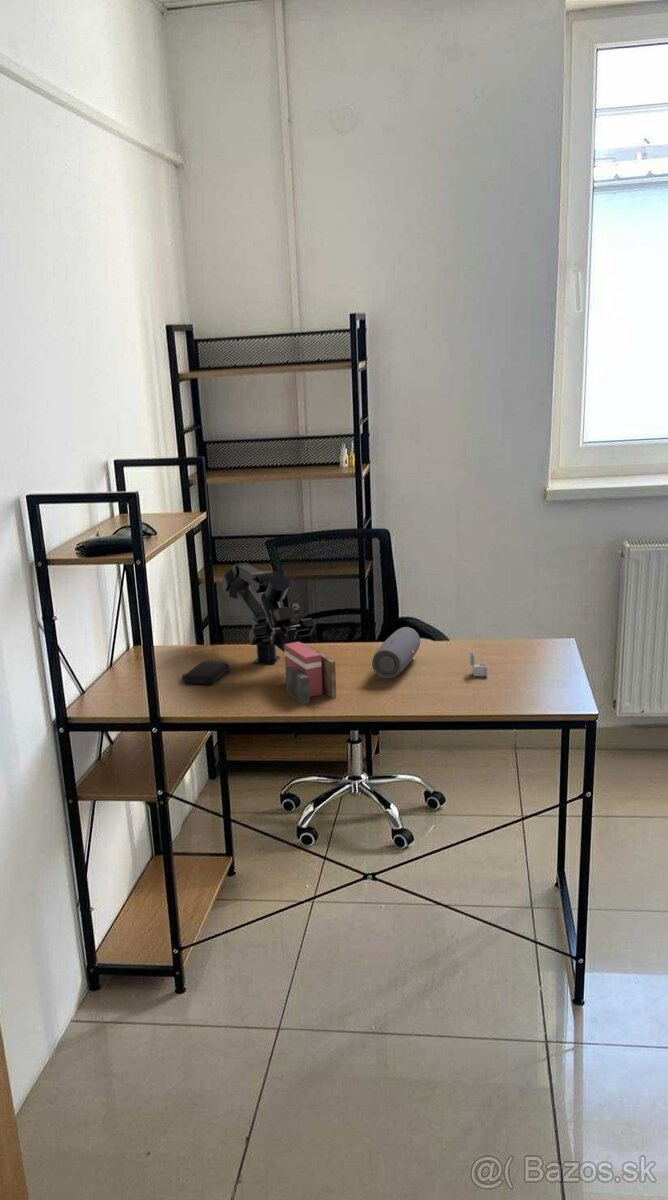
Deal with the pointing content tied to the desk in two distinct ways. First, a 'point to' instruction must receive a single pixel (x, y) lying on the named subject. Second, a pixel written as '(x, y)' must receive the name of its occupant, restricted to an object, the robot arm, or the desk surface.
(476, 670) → the architectural model
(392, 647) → the bluetooth speaker
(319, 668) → the book
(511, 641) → the desk surface
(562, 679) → the desk surface
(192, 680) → the carrying case or bag
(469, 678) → the desk surface
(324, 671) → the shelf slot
